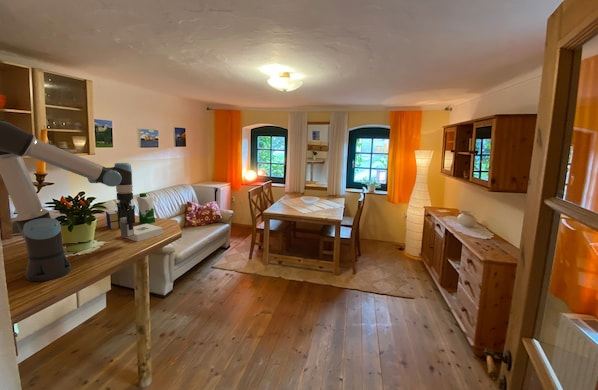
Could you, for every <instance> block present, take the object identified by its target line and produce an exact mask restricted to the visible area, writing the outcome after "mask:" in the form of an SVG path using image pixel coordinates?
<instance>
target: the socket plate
mask: <svg viewBox="0 0 598 390" xmlns="http://www.w3.org/2000/svg"><path fill="white" fill-rule="evenodd" d="M133 229H134V236H130V237H126V239H128V240H132V241H135V242H137V243H138V242H141V241H144V240H147V239H151V238H154V236H155V237H157V236H160V235H161V234H162V235H163V233H164V232H163V231H164V229H163V227H161V226H157V225H153V224H151V223H150V224H140V225H139V224H138V225H134V226H133Z"/></svg>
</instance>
